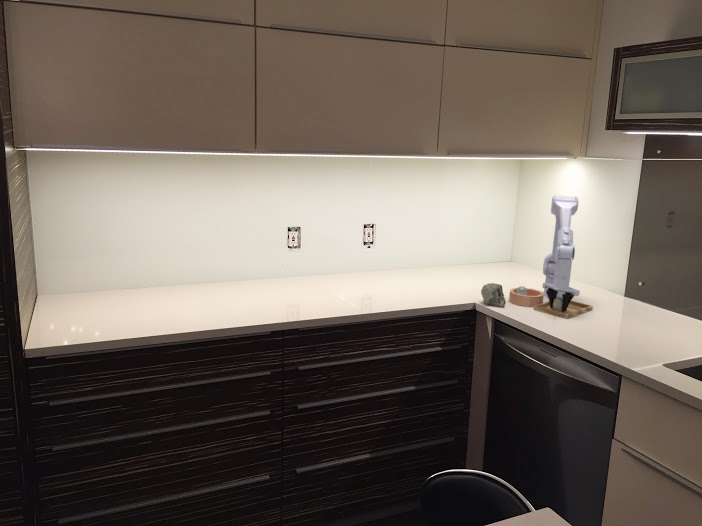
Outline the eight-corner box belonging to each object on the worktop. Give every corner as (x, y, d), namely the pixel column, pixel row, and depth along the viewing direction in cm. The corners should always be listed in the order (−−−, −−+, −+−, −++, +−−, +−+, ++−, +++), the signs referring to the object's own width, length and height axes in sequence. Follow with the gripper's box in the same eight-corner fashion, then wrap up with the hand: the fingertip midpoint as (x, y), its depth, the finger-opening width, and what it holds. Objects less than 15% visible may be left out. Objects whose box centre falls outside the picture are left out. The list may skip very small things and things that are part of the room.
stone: (508, 281, 241) (482, 278, 244) (505, 301, 236) (479, 298, 238) (506, 294, 249) (481, 291, 251) (503, 315, 243) (478, 311, 245)
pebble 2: (555, 309, 239) (557, 295, 238) (566, 312, 236) (567, 297, 234) (549, 311, 236) (551, 296, 235) (560, 313, 233) (562, 299, 232)
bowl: (520, 297, 257) (521, 286, 256) (548, 304, 247) (550, 293, 246) (502, 302, 248) (503, 290, 247) (531, 310, 238) (532, 298, 237)
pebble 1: (520, 298, 252) (521, 284, 251) (528, 300, 249) (530, 287, 247) (513, 299, 250) (514, 285, 249) (521, 302, 246) (522, 288, 245)
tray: (560, 302, 250) (560, 297, 250) (592, 311, 240) (593, 306, 240) (533, 311, 237) (534, 305, 237) (566, 320, 227) (567, 314, 227)
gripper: (539, 273, 235) (536, 306, 238) (574, 281, 225) (570, 316, 228) (549, 270, 240) (545, 303, 243) (584, 278, 230) (579, 312, 233)
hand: (558, 309), depth 236 cm, fingers closed on pebble 2, 4 cm apart
